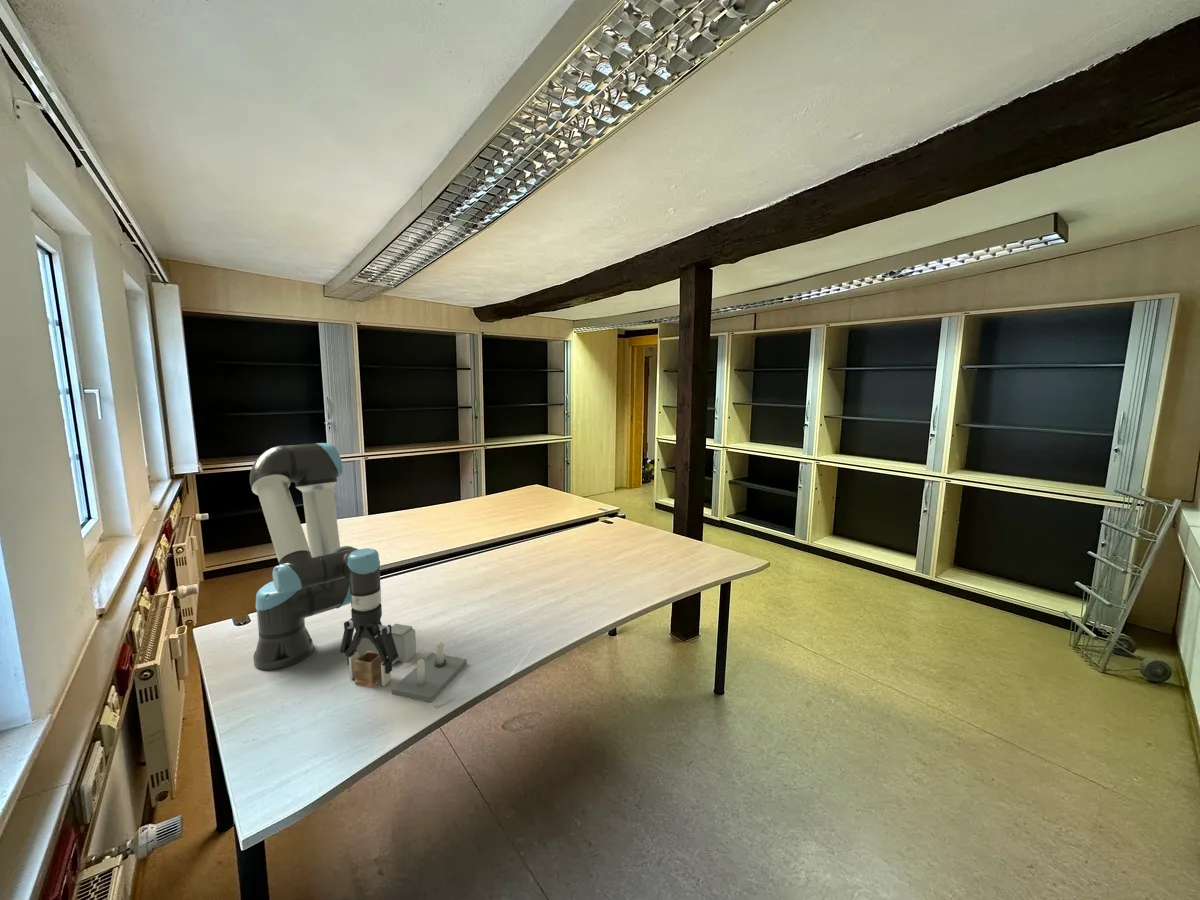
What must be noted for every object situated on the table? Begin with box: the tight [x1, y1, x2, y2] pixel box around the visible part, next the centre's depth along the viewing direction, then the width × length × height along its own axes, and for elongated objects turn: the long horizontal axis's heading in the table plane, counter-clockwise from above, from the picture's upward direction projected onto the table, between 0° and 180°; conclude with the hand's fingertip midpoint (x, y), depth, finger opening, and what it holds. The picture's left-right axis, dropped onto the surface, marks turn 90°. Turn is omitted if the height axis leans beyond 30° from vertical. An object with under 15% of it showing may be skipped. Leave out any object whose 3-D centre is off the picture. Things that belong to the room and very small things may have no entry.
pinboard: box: [391, 641, 468, 703], centre depth 132 cm, size 12×18×8 cm, turn 165°
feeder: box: [391, 623, 417, 665], centre depth 141 cm, size 8×8×9 cm
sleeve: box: [354, 650, 383, 688], centre depth 131 cm, size 5×5×7 cm
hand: (370, 679), depth 131 cm, fingers open, 10 cm apart
